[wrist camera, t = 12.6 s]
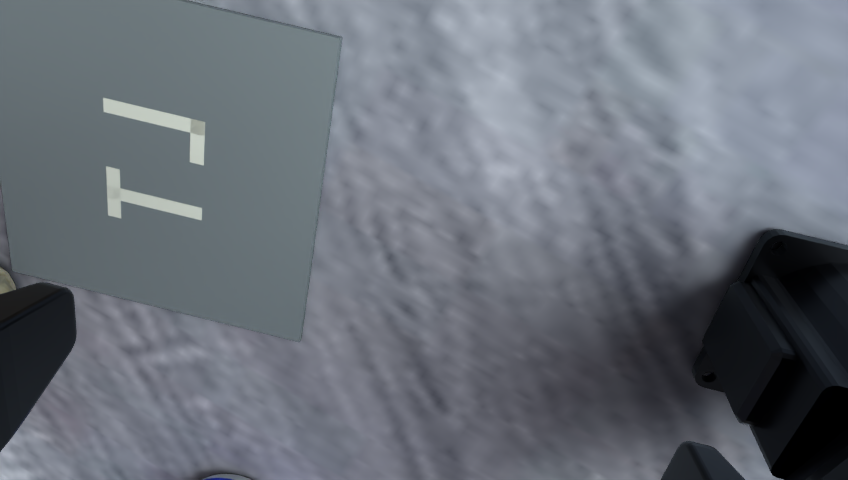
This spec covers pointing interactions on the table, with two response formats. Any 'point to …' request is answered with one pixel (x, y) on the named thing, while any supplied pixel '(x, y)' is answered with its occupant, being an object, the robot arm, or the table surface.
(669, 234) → the table surface
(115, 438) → the table surface
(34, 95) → the mat
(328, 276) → the table surface
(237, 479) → the beverage can
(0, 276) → the pastry
